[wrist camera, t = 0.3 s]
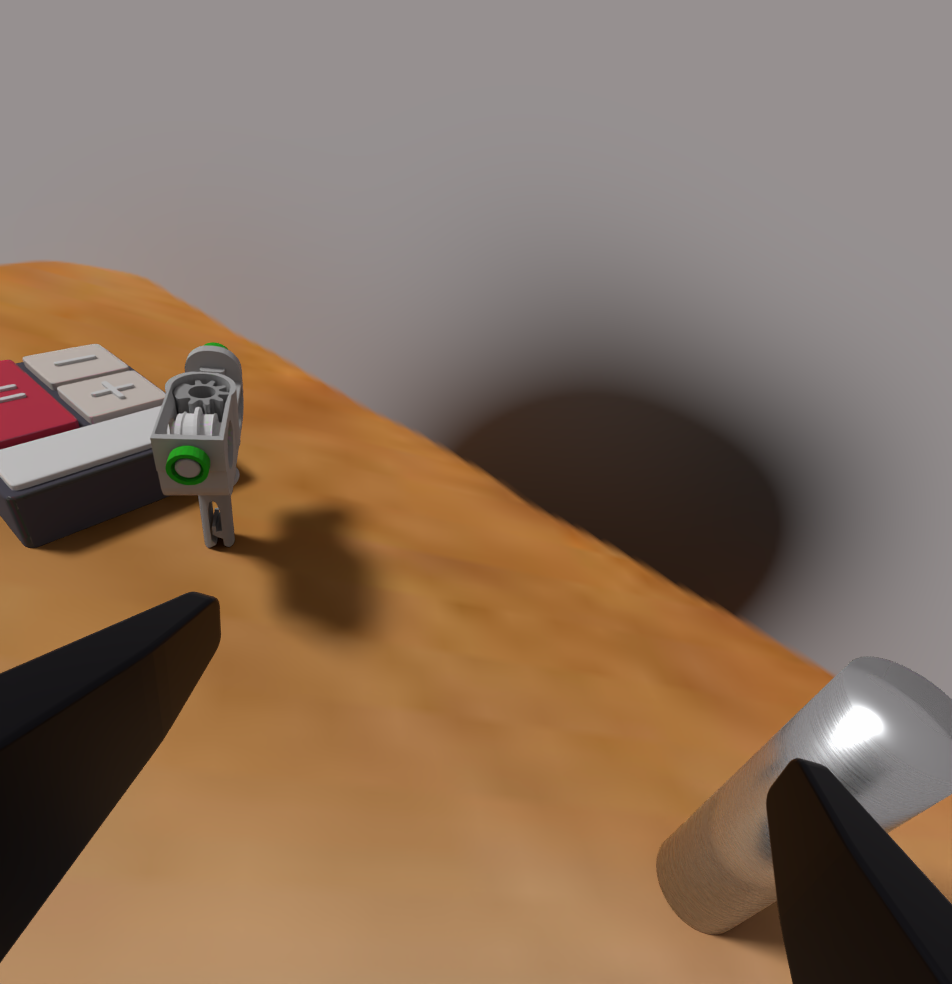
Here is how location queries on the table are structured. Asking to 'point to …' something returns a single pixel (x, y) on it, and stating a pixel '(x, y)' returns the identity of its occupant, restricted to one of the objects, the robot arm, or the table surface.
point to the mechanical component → (202, 436)
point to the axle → (838, 746)
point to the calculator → (74, 442)
